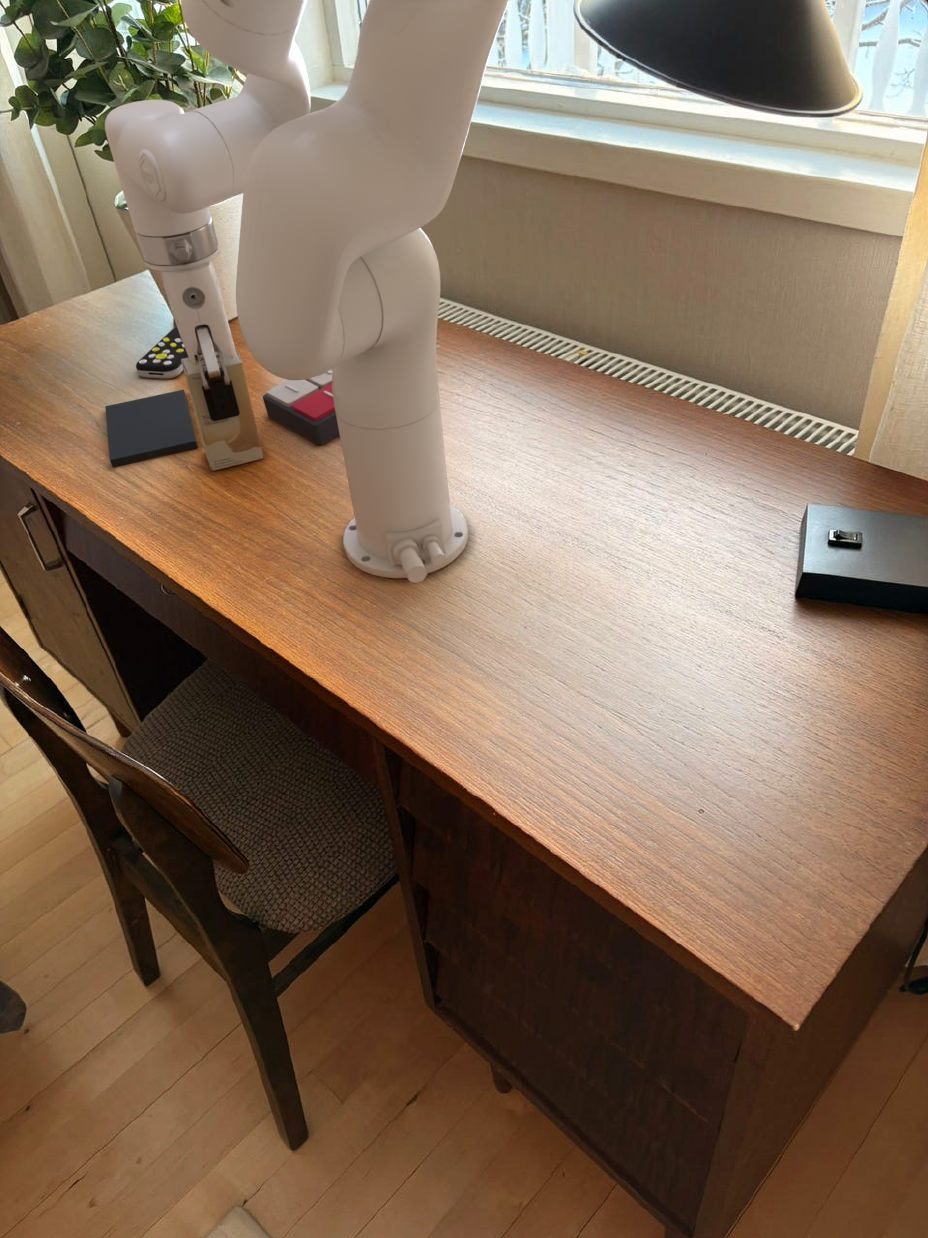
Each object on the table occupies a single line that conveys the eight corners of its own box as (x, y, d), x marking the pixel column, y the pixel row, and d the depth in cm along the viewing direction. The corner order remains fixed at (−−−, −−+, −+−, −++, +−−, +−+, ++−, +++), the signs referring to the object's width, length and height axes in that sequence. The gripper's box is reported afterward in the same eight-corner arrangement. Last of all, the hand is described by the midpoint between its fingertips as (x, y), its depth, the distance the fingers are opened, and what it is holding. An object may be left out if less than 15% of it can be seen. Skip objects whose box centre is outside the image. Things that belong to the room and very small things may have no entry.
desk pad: (198, 447, 112) (195, 440, 112) (112, 467, 110) (110, 459, 110) (185, 395, 122) (183, 389, 122) (107, 412, 121) (105, 405, 120)
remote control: (216, 338, 135) (213, 325, 134) (175, 380, 126) (171, 366, 125) (178, 336, 136) (174, 323, 135) (134, 378, 127) (130, 364, 126)
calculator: (259, 390, 114) (354, 340, 121) (267, 421, 117) (360, 370, 124) (313, 419, 108) (410, 365, 115) (321, 451, 111) (415, 396, 118)
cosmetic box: (212, 472, 108) (183, 375, 100) (205, 454, 111) (177, 358, 103) (267, 458, 109) (243, 360, 101) (258, 440, 113) (234, 345, 104)
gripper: (227, 264, 88) (267, 434, 101) (205, 210, 101) (244, 367, 113) (146, 279, 87) (197, 450, 99) (134, 222, 99) (181, 381, 111)
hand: (222, 404), depth 106 cm, fingers closed on cosmetic box, 4 cm apart
